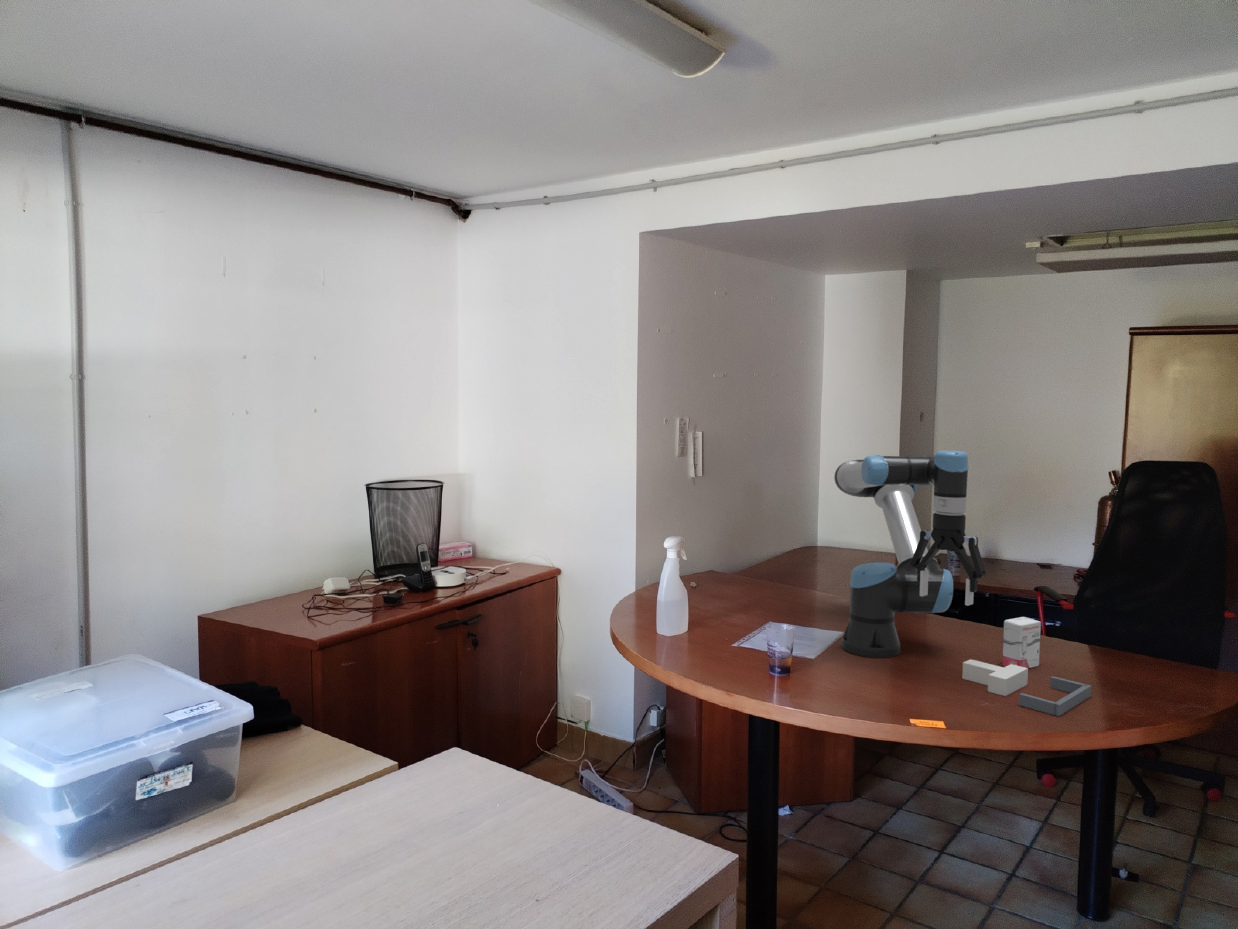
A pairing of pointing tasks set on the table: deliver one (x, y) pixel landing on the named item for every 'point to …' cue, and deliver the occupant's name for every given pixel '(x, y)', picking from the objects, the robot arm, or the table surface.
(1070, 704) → the dock
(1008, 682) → the t block
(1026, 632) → the ink box
